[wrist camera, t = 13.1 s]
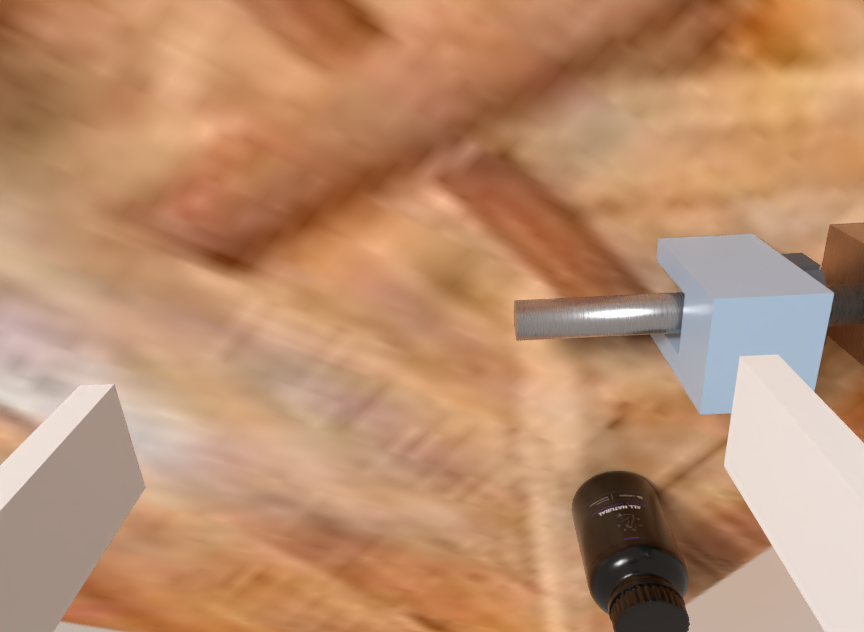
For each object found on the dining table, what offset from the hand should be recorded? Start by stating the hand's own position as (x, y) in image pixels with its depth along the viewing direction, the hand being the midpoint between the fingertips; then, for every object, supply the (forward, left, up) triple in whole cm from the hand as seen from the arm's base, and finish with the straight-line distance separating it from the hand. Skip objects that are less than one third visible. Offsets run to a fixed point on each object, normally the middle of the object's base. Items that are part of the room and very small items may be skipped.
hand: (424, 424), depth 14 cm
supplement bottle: (+8, +30, -31) cm, 44 cm away
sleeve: (-7, +18, -30) cm, 35 cm away
